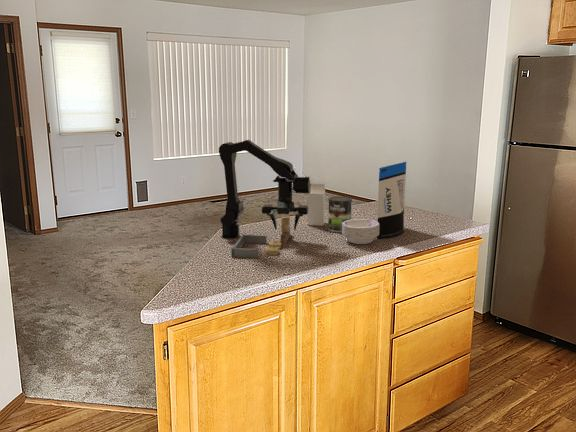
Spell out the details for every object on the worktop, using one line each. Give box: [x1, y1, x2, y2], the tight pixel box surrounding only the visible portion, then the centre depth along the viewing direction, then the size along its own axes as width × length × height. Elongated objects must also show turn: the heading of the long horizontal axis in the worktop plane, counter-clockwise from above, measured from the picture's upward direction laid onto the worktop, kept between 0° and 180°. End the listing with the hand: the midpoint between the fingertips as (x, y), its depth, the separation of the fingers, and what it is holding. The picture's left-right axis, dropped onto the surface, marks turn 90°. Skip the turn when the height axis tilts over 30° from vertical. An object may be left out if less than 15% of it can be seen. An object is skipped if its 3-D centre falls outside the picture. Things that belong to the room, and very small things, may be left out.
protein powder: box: [376, 161, 407, 240], centre depth 226 cm, size 10×24×30 cm, turn 142°
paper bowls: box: [341, 218, 379, 245], centre depth 217 cm, size 15×15×8 cm
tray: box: [230, 234, 268, 258], centre depth 208 cm, size 10×20×3 cm, turn 173°
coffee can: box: [327, 195, 353, 233], centre depth 235 cm, size 10×10×14 cm
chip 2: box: [264, 246, 280, 256], centre depth 203 cm, size 4×4×2 cm
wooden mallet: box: [280, 215, 291, 245], centre depth 221 cm, size 3×14×10 cm, turn 173°
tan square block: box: [268, 240, 283, 250], centre depth 210 cm, size 4×4×2 cm
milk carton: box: [307, 182, 326, 227], centre depth 244 cm, size 7×7×19 cm
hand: (285, 229), depth 221 cm, fingers open, 8 cm apart
